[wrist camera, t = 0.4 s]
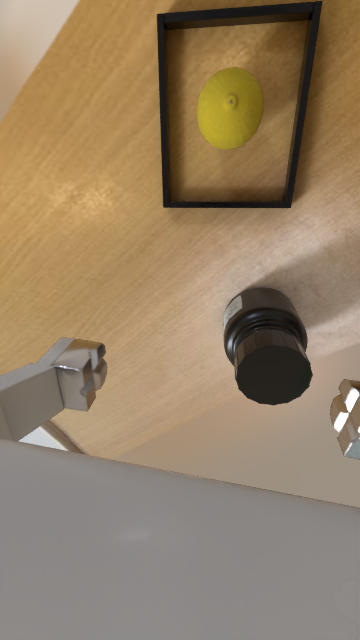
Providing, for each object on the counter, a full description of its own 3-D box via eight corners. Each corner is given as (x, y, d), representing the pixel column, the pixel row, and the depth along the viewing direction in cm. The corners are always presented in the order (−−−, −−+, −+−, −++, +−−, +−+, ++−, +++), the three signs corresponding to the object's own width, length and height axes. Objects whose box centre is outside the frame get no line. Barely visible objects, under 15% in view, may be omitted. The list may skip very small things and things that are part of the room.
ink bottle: (216, 290, 36) (214, 339, 25) (290, 275, 34) (322, 322, 23) (230, 354, 40) (233, 420, 29) (297, 345, 38) (327, 412, 27)
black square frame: (160, 21, 26) (156, 13, 24) (316, 10, 24) (322, 0, 23) (165, 206, 32) (163, 207, 31) (287, 206, 31) (290, 208, 30)
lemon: (192, 141, 29) (183, 131, 22) (211, 74, 27) (208, 38, 20) (243, 160, 29) (250, 156, 22) (268, 95, 27) (284, 67, 20)
